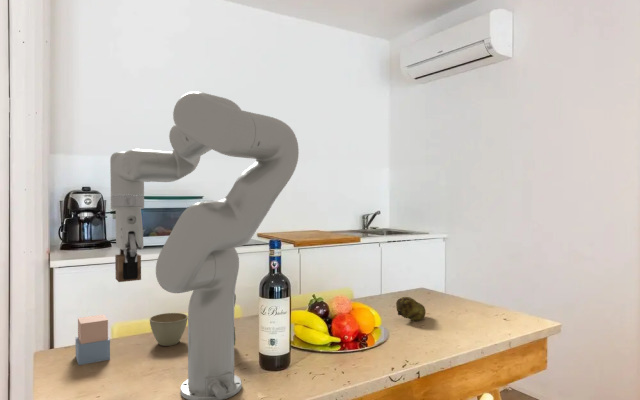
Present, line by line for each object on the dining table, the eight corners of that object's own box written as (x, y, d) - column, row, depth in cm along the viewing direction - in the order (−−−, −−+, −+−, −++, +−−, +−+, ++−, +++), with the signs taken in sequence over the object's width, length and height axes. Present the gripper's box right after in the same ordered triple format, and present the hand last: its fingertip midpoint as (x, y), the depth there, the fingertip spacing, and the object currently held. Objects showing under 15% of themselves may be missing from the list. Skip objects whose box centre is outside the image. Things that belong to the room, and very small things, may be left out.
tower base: (110, 359, 112) (109, 339, 112) (78, 365, 108) (78, 345, 108) (105, 351, 118) (105, 332, 118) (75, 356, 114) (75, 337, 114)
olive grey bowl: (176, 350, 118) (176, 323, 118) (142, 347, 120) (142, 321, 120) (194, 338, 128) (194, 313, 128) (162, 336, 130) (162, 311, 130)
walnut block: (141, 279, 109) (140, 255, 109) (118, 282, 106) (118, 256, 106) (137, 276, 113) (136, 253, 113) (115, 278, 110) (115, 254, 110)
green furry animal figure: (435, 320, 146) (435, 296, 146) (405, 326, 140) (405, 300, 140) (418, 314, 154) (418, 291, 154) (388, 319, 147) (388, 295, 147)
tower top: (107, 339, 112) (107, 319, 112) (80, 344, 109) (80, 323, 108) (103, 333, 117) (103, 314, 117) (78, 337, 113) (77, 318, 113)
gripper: (151, 203, 104) (152, 281, 105) (137, 202, 119) (137, 270, 119) (116, 203, 100) (117, 284, 100) (105, 202, 115) (106, 273, 115)
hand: (128, 276), depth 110 cm, fingers closed on walnut block, 5 cm apart
